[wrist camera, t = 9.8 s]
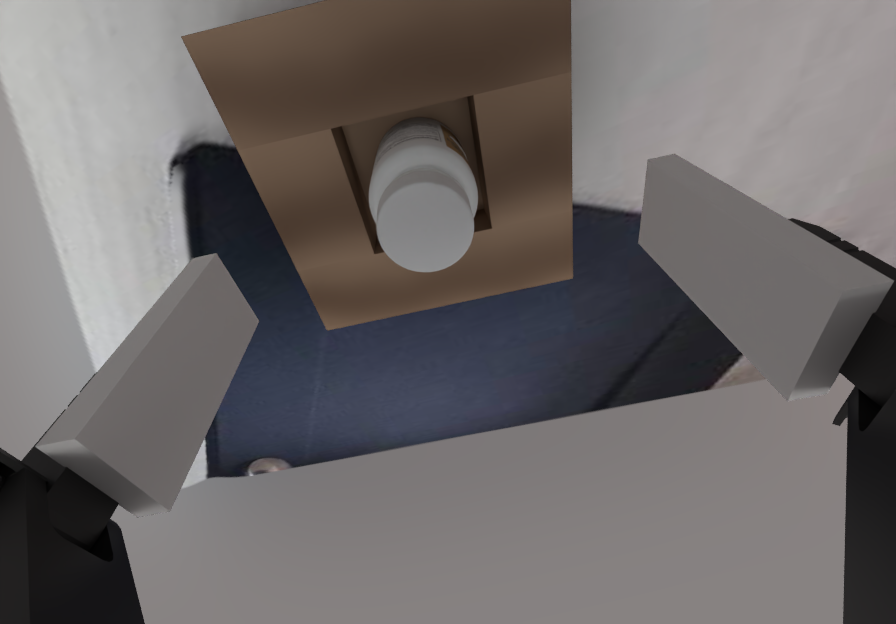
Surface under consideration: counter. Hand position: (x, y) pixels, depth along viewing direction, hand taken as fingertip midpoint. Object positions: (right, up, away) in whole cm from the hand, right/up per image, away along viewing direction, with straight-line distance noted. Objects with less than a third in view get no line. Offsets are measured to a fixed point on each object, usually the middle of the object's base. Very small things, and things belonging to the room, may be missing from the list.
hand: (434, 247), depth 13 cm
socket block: (-1, +7, +10) cm, 12 cm away
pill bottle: (-1, +5, +8) cm, 10 cm away
